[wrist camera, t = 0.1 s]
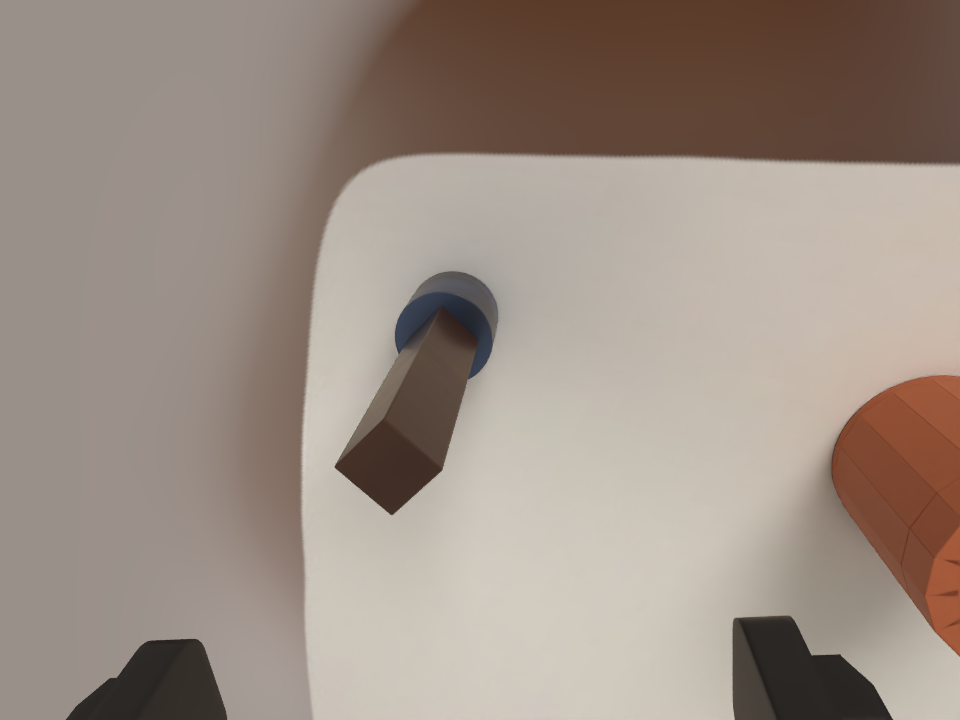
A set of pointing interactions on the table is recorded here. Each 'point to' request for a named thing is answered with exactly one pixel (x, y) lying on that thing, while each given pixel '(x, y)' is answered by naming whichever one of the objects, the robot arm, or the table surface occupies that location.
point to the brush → (422, 389)
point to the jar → (909, 491)
